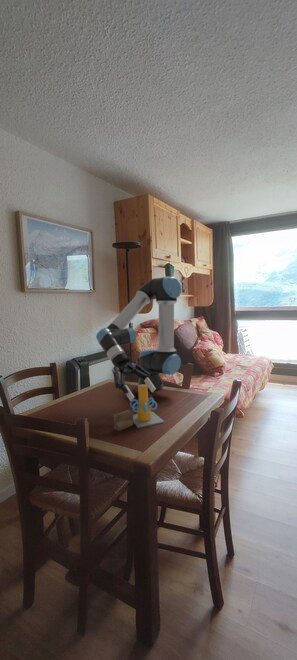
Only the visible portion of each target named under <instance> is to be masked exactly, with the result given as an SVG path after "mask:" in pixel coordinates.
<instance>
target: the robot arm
mask: <svg viewBox="0 0 297 660" xmlns="http://www.w3.org/2000/svg"><path fill="white" fill-rule="evenodd" d="M181 294H182V286H181V283H180V281H179V280H178V279H177V277H174V276H165V277H157V278H155V277H154V278H152V279H149V280H147V281H146V282H145V283H144V284H143V285H142V286H140V288H139V289H138V290H137V291H136V292H135V296H134V297H133V299H131V301H130V302H128V303H127V305H126V306H125V307H124V308H123V309H122V310H121V312H120V313H119V314H118V315H117V316H116V317H115V318H114V319H113V320H112V322H111V323H110V324H109V325H107V327H103V328H101V329H100V330H99V331H98V332H97V333H96V335H95V338H96V340H97V342H98V344H99V345H100V347H101V348H102V350H103V351H104V353H105V354H106V356H107V358H108V359H109V361H111V363H112V364H113V368H112V369H111V372H112V374H113V380H114V388H115V389H118V390H121V391H122V393H124V395H126V398H128V400H129V401H130V402H131V401H132V400H133V398H134V395H133V393H132V391H131V389H130V388H129V386H128V385H127V384H125V381H126V376H127V375H130V374H131V375H135V376H137V377H139V379H138V382H137V386H138V385H140V384H146V385H147V386H148V388H149V389H150V391H151V392H152V393H154V392H155V391H159V390H162V389H164V382H163V380H162V377H161V374H164V375H169V376H172V375H174V374H177V372H178V371H179V369H180V367H181V364H182V362H181V358H180V356H179V355H178V354H177V348H175V343H174V342H175V304H176V303H177V302H178V301H177V300H178V298H180V296H181ZM154 300H155V302H156V303H157V305H158V347H157V348H151V349H150V348H149V349H144V350H140V352H139V358H138V359H139V364H138V362H137V360H136V361H135V360H134V361H133V362H130V361H131V360H130V357H129V356H128V355H127V353H125V350H124V349H123V348H122V346H126V345H128V344H132V343H134V342H135V341H136V340H137V333H136V330H135V329H134V328H133V327H127V326H129V324H130V323H131V322H132V321H133V320H134V318H136V317H137V315H138V314H139V313H140V312H141V310H142V309H143V308H144V307H145V306H146V305H148V304H150V303H151V302H152V301H154ZM119 373H120V374H119Z"/></svg>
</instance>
